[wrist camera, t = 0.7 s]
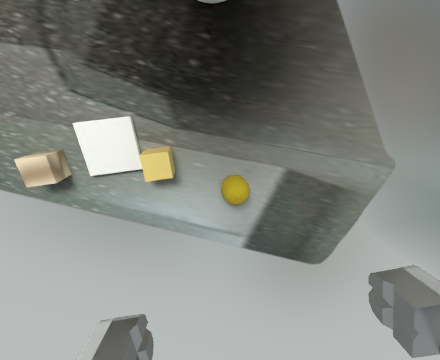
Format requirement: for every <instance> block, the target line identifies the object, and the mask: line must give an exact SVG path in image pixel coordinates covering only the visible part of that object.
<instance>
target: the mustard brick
mask: <svg viewBox="0 0 440 360" xmlns="http://www.w3.org/2000/svg"><path fill="white" fill-rule="evenodd" d="M139 157H140V161H141V165H142V169H143V173H144V177H145V181H146V182H148V181H155V180H162V179H169V178H173V176H174V173H175V166H174V161H173V156H172V151H171V146H169V147H161V148H154V149H146V150H144V151H143V152H142V153H141V154H140V155H139Z"/></svg>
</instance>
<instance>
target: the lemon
mask: <svg viewBox="0 0 440 360" xmlns="http://www.w3.org/2000/svg"><path fill="white" fill-rule="evenodd" d="M221 191H222V195H223V197H224V198H225V200H226V201H227V202H229V203H230V204H233V205H239V204H242V203H244V202H245V201H246V200H247V198H248V196H249V185H248V183H247V182H246V180H245V179H244V178H242V177H241V176H237V175H232V176H229V177H227V178H226V179H225V180H224V181H223V183H222V187H221Z"/></svg>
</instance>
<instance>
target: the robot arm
mask: <svg viewBox="0 0 440 360" xmlns="http://www.w3.org/2000/svg"><path fill="white" fill-rule="evenodd" d="M198 1H201V2H205V3H219V2H223V1H226V0H198ZM369 284H370V285H371V286H372V287H373V288H372V290H371V291H370V293H369V303H370V305H371V308H372V310H373V312H374V314H375V315H376V317H377V318H378V319H379V320H380V322H381V323H382V324H383V325H385V326H387V327H389V328H391V329H393V336H394V338H395V339H396V340H397V341H398V342H399V343H400V344H401V346H402V347H403V348H404V349H405V350H406V351H407V352H408V354H409V355H410V356H411V357H412V358H415V357H423V356H430V355H437V354H440V280H438V279H437V278H435V277H433V276H432V275H431V274H429V273H427V272H426V271H425V270H423V269H421V268H420V267H418V266H414V265H412V266H407V267H401V268H398V269H392V270H386V271H381V272H376V273H371V274H370V275H369ZM147 323H148V321H147V319H146V316H145V315H144V314H138V315H132V316H125V317H118V318H114V319H108V320H102V321H100V322H99V323H98V324H97V325H96V327H95V329H94V331H93V332H92V334H91V336H90V337H89V339H88V341H87V342H86V344H85V346H84V347H83V349H82V351H81V352H80V354H79V356H78V357H77V359H76V360H152V356H153V337H152V334H151V332H150V331H149V330H147V329H146V326H147Z"/></svg>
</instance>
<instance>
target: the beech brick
mask: <svg viewBox="0 0 440 360" xmlns="http://www.w3.org/2000/svg"><path fill="white" fill-rule="evenodd" d="M14 161H15V163H16V165H17V167H18V169H19V172H20V174H21V176H22V178H23V180H24V182H25V184H26V187H32V186H40V185H47V184H54V183H58V182H60V181H61V180H63V179H65V178H66V177H68V176H70V175H72V174H71V171H70V168H69V166H68V163H67V160H66V158H65V155H64V152H63V150H55V151H47V152H39V153H33V154H30V155H27V156H24V157H20V158H17V159H14Z"/></svg>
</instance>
